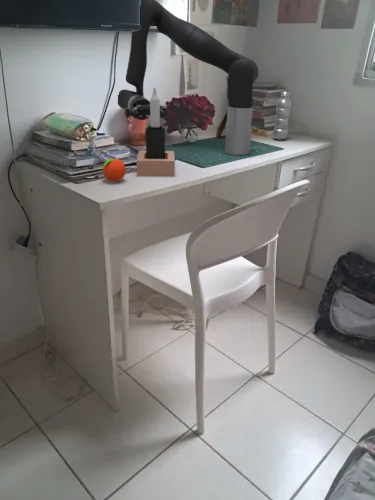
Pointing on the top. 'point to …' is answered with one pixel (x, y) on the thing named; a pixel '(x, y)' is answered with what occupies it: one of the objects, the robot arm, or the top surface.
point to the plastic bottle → (282, 116)
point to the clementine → (114, 169)
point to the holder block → (156, 165)
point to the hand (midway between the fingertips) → (150, 115)
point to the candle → (155, 131)
